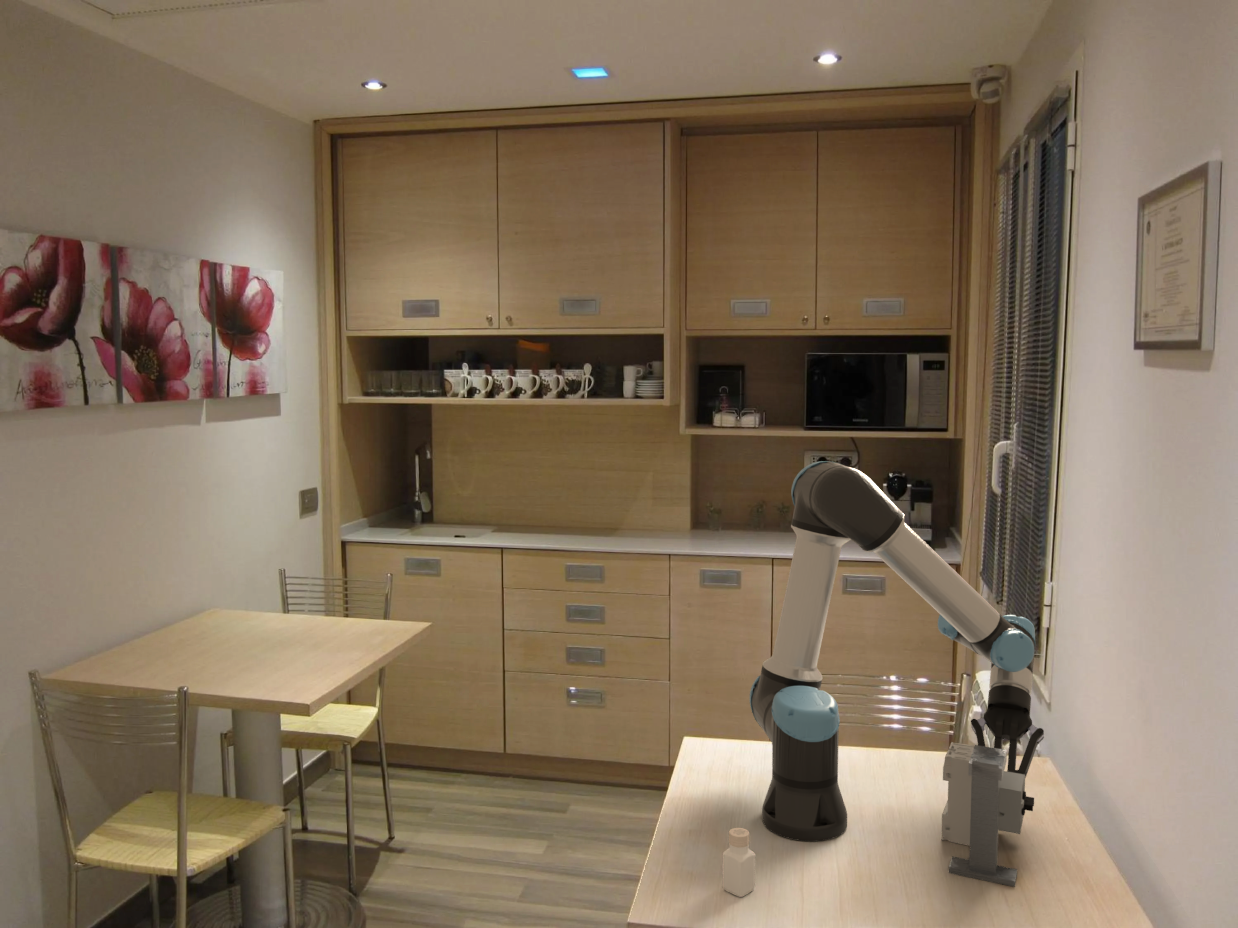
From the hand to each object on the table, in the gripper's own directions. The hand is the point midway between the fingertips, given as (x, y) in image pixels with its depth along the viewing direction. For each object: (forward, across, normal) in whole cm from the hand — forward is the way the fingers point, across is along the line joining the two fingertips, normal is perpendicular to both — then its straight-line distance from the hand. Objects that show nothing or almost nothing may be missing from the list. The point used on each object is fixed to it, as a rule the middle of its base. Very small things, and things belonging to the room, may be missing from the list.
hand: (1000, 812), depth 173 cm
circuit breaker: (+6, +2, +1) cm, 6 cm away
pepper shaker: (+30, +35, +26) cm, 53 cm away
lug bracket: (+13, +1, +9) cm, 15 cm away
